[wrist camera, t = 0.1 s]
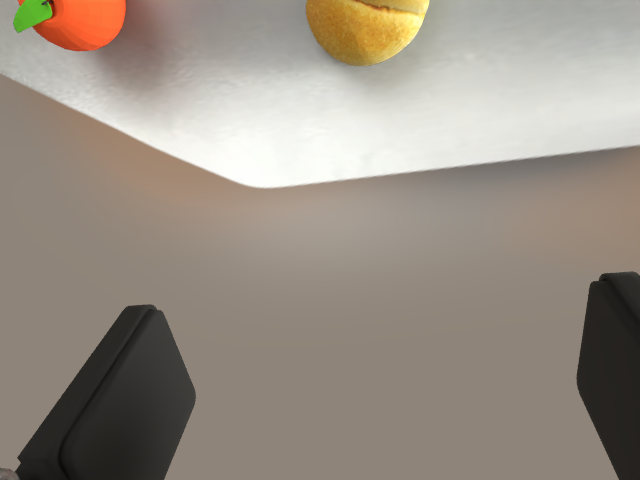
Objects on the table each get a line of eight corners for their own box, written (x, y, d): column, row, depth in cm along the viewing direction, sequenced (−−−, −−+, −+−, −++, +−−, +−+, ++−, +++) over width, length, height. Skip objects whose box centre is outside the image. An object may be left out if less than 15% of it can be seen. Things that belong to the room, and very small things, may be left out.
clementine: (85, 65, 40) (32, 85, 34) (25, -19, 37) (-45, -14, 31) (159, 16, 37) (117, 28, 31) (101, -78, 34) (41, -85, 28)
